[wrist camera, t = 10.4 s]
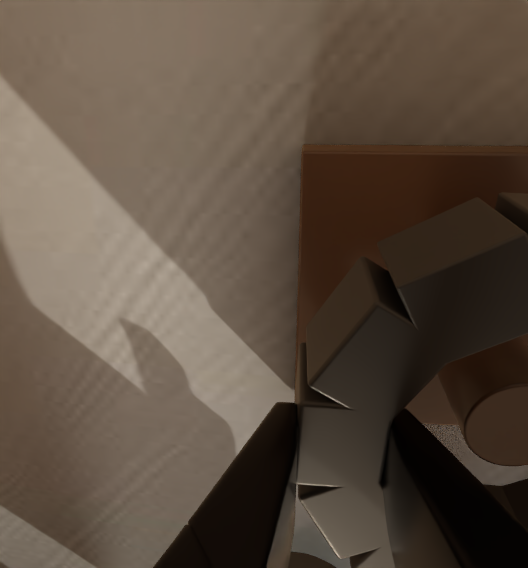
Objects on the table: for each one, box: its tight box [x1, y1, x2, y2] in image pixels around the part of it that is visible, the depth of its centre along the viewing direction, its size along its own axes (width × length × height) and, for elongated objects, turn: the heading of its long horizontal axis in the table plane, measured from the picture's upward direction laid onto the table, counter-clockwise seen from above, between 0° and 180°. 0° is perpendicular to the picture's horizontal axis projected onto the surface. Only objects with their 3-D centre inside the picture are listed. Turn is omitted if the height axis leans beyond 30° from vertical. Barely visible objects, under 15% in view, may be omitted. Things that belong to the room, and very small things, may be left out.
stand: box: [295, 144, 528, 466], centre depth 12 cm, size 8×8×6 cm
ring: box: [294, 192, 528, 568], centre depth 9 cm, size 8×8×2 cm
